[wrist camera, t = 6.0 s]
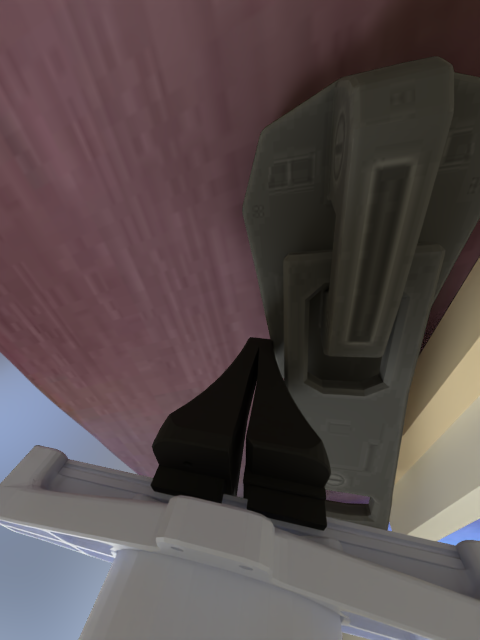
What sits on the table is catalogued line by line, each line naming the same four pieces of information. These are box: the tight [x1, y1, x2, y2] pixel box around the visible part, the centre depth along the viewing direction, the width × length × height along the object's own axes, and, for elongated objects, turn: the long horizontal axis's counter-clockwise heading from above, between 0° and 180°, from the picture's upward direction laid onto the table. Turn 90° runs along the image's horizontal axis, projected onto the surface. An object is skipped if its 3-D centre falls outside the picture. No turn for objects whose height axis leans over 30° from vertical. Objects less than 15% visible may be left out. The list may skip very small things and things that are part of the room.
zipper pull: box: [242, 56, 480, 530], centre depth 12 cm, size 9×7×25 cm
